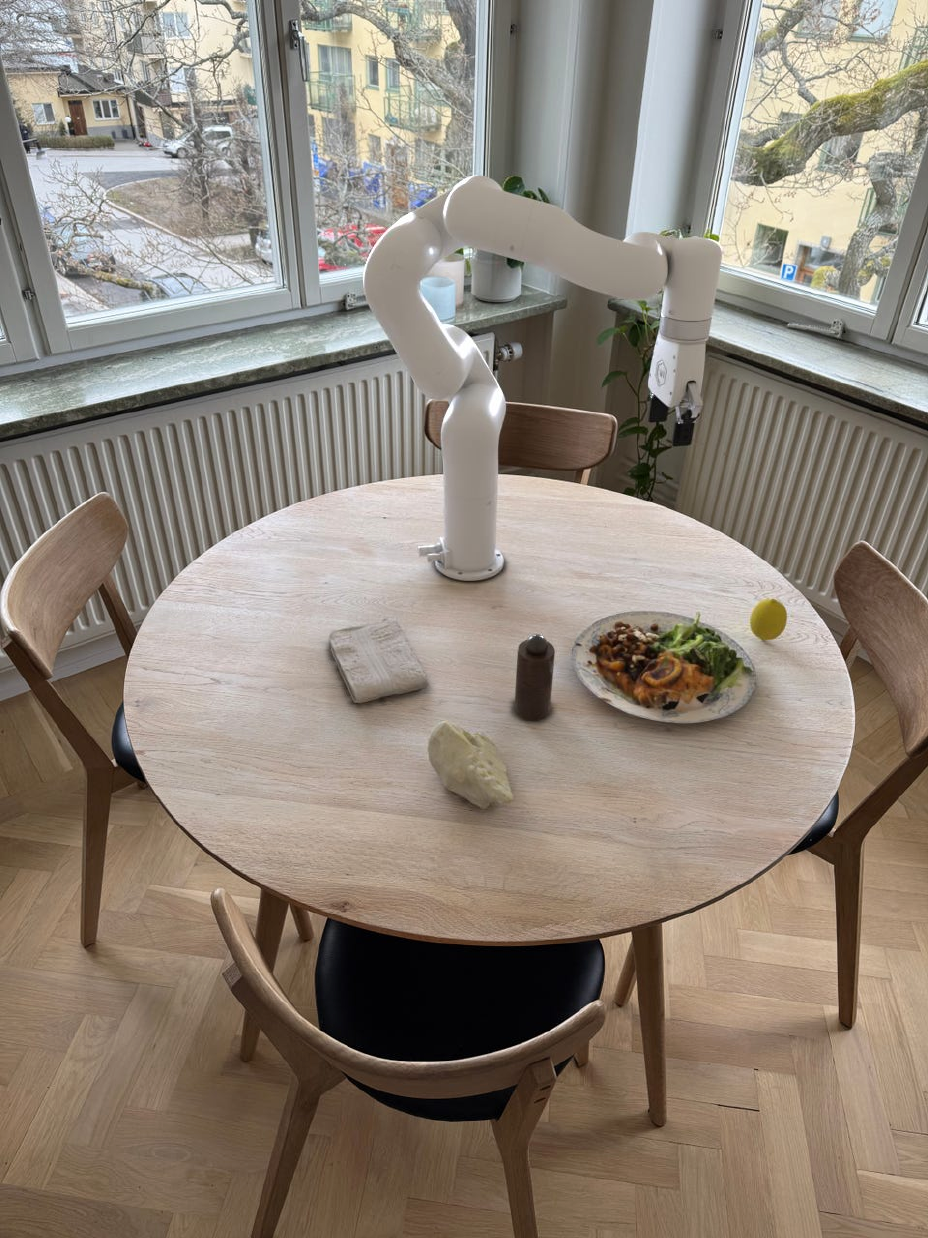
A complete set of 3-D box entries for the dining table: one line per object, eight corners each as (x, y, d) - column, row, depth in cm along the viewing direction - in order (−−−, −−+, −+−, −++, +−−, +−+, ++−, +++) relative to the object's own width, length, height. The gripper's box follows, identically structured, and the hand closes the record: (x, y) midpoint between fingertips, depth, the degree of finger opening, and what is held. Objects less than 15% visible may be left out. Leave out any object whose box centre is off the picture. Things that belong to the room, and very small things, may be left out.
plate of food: (760, 642, 147) (768, 611, 143) (746, 753, 125) (755, 720, 122) (592, 609, 154) (595, 579, 151) (551, 708, 133) (554, 676, 129)
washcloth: (394, 626, 149) (393, 611, 148) (431, 690, 136) (431, 674, 134) (324, 642, 146) (322, 626, 144) (355, 709, 132) (354, 693, 130)
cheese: (433, 754, 127) (389, 756, 113) (465, 714, 126) (424, 711, 112) (512, 829, 122) (475, 841, 108) (546, 789, 121) (514, 795, 107)
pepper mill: (519, 723, 130) (524, 649, 122) (510, 700, 134) (514, 628, 127) (554, 718, 131) (560, 645, 123) (544, 695, 135) (549, 623, 128)
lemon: (777, 631, 150) (787, 590, 145) (783, 651, 145) (794, 610, 140) (743, 629, 150) (752, 588, 145) (748, 648, 145) (758, 607, 141)
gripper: (640, 311, 142) (627, 414, 152) (685, 346, 129) (668, 457, 138) (684, 309, 144) (669, 411, 154) (733, 343, 130) (713, 453, 140)
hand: (668, 432), depth 146 cm, fingers open, 9 cm apart
